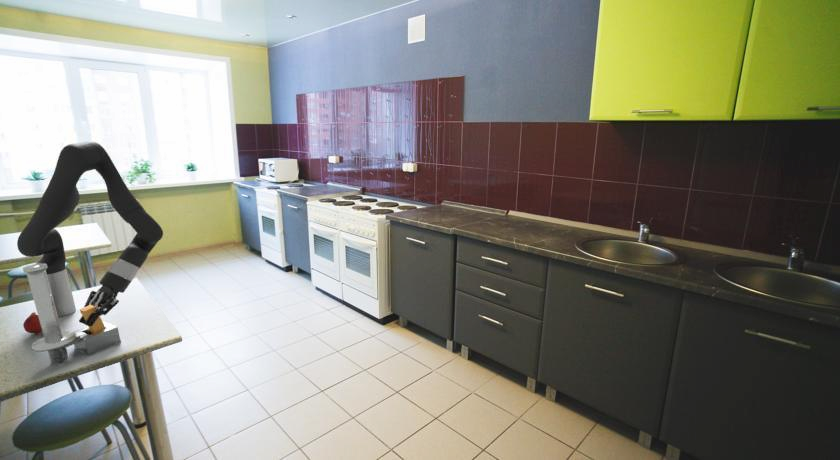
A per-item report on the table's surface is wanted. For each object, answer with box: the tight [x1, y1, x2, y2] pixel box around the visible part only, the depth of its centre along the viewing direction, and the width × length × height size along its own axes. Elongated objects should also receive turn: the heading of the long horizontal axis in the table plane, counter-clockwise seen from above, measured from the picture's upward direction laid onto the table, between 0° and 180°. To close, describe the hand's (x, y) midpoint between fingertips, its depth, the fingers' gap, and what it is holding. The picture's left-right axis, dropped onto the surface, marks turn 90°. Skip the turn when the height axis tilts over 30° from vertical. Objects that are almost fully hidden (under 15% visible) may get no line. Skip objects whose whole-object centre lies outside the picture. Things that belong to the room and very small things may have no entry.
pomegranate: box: [23, 311, 43, 335], centre depth 135 cm, size 6×6×8 cm
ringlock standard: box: [22, 263, 121, 365], centre depth 121 cm, size 10×20×30 cm, turn 152°
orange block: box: [79, 305, 106, 333], centre depth 127 cm, size 3×3×9 cm
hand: (85, 323), depth 125 cm, fingers closed on orange block, 3 cm apart
